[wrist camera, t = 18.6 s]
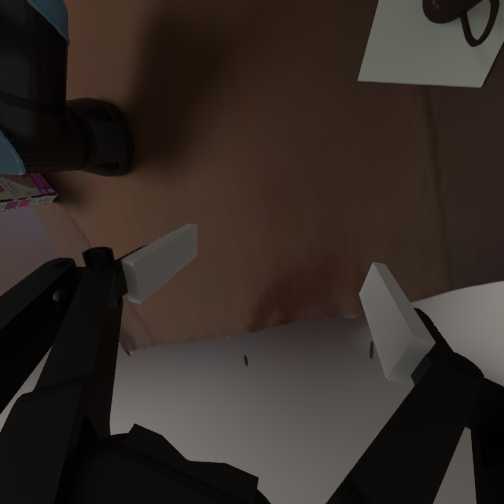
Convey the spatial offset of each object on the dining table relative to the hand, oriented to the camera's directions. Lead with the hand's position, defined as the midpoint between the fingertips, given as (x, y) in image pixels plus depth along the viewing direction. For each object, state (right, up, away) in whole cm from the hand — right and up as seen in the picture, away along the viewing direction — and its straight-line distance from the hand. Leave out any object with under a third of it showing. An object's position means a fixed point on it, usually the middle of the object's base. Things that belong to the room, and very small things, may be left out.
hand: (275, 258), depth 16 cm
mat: (+23, +32, +11) cm, 41 cm away
